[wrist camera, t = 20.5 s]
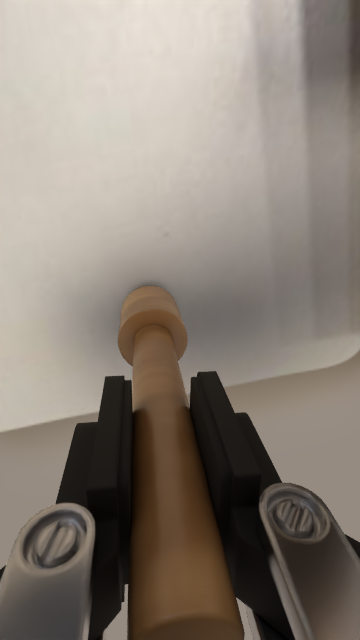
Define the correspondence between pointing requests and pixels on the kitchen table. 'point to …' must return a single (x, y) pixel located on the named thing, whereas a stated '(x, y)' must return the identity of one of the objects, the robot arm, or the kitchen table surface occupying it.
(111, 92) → the kitchen table surface
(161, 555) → the muddler
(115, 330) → the kitchen table surface
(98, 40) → the kitchen table surface
